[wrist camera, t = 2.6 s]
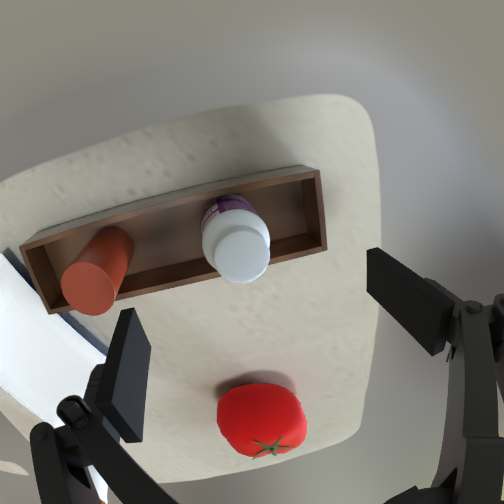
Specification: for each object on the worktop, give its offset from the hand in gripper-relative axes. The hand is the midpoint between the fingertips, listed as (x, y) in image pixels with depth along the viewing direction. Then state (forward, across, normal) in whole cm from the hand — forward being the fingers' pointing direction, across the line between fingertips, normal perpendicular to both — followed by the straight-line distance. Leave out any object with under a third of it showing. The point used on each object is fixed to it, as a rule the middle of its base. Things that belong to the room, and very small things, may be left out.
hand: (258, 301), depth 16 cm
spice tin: (+15, -12, 0) cm, 19 cm away
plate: (+16, -31, -11) cm, 36 cm away
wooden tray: (+16, -6, 0) cm, 17 cm away
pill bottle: (+15, 0, 0) cm, 15 cm away
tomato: (+16, -2, -26) cm, 31 cm away
